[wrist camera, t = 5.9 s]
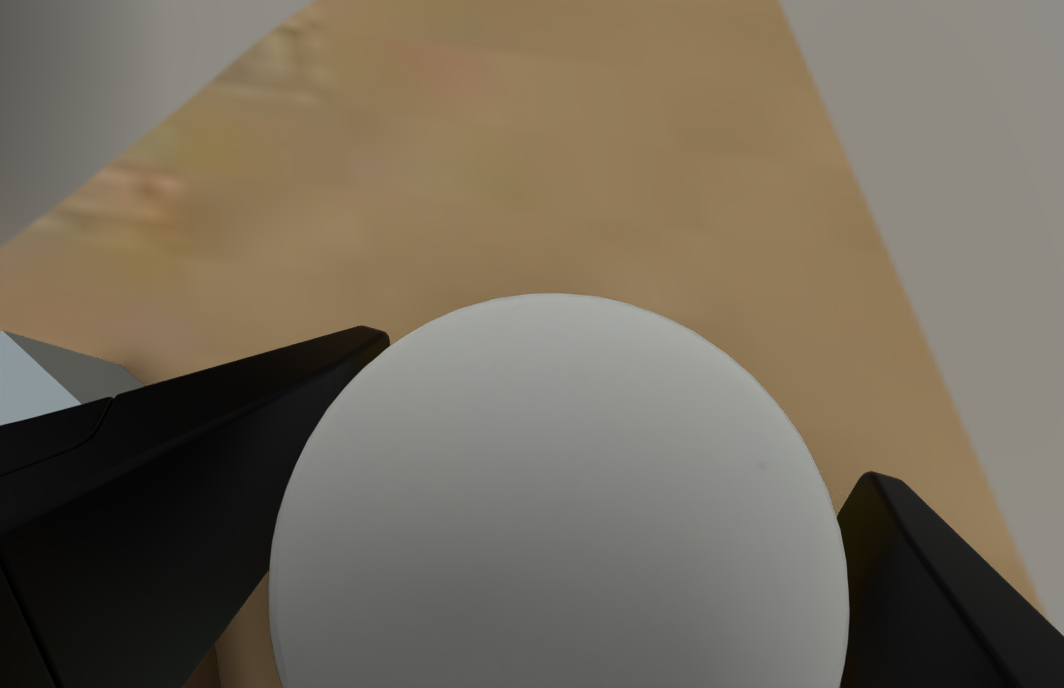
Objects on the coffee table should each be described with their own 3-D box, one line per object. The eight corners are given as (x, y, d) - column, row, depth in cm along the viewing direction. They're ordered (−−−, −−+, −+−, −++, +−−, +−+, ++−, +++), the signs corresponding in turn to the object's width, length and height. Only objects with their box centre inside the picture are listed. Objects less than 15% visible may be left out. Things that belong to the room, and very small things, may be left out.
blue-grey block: (40, 598, 17) (-118, 627, 13) (-24, 529, 18) (-194, 537, 14) (189, 425, 18) (81, 404, 14) (122, 365, 19) (2, 330, 15)
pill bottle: (716, 414, 16) (982, 252, 5) (688, 674, 14) (967, 1196, 4) (481, 377, 17) (282, 171, 6) (435, 620, 15) (67, 926, 5)
